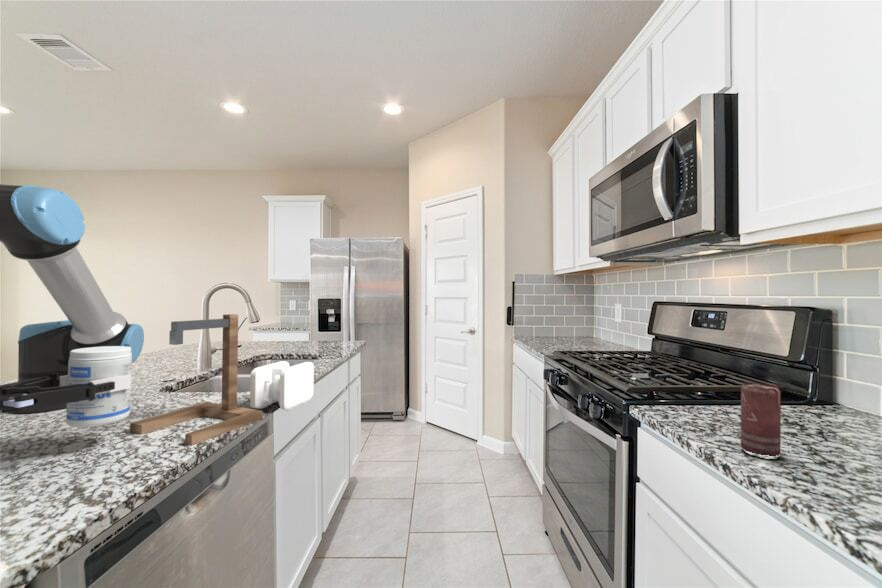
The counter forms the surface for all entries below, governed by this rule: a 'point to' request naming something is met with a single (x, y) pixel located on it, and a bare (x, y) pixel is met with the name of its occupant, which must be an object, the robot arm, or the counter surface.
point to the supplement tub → (95, 367)
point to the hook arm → (193, 328)
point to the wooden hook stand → (226, 410)
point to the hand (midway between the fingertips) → (114, 378)
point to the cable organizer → (281, 385)
